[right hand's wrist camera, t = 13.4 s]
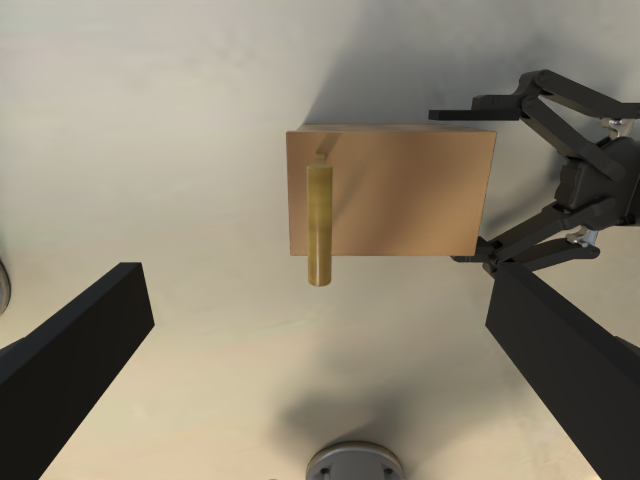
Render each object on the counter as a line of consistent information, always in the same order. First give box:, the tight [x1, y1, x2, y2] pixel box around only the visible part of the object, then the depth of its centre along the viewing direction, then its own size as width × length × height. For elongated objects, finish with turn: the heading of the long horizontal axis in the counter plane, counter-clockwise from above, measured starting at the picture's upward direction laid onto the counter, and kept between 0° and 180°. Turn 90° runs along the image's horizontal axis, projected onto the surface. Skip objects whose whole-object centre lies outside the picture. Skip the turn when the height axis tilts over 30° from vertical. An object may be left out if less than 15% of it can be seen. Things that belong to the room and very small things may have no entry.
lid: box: [286, 131, 497, 286], centre depth 23 cm, size 15×10×9 cm, turn 90°
